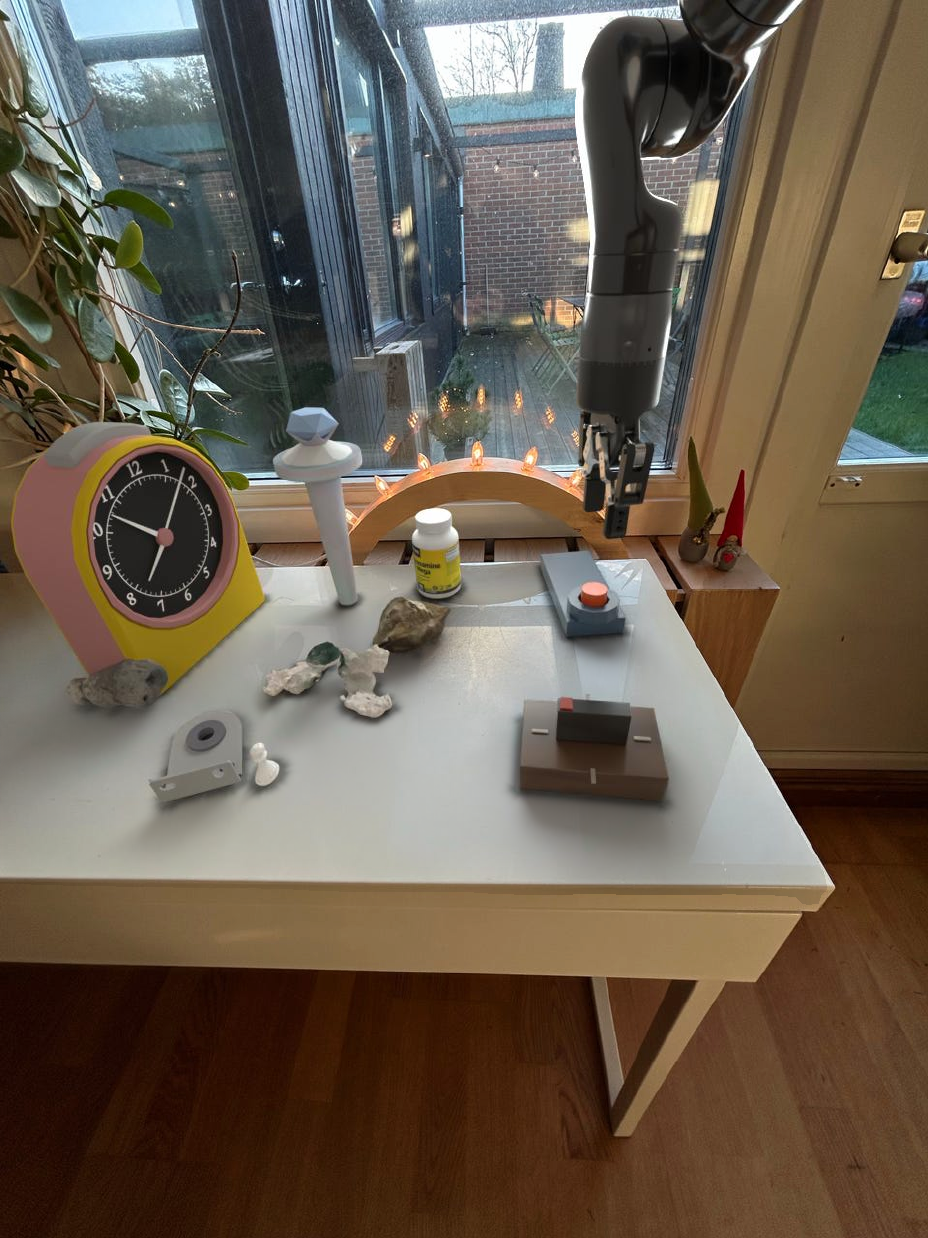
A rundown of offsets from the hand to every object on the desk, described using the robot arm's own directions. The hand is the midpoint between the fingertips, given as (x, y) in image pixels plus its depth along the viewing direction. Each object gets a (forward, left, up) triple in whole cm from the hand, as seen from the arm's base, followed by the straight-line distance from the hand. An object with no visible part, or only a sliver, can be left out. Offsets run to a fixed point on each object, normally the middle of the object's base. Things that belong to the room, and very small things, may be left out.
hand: (602, 522), depth 56 cm
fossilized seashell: (-5, +21, -14) cm, 26 cm away
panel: (-21, +1, -14) cm, 25 cm away
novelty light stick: (+3, +32, -14) cm, 35 cm away
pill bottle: (+7, +20, -14) cm, 26 cm away
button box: (+6, +1, -14) cm, 15 cm away
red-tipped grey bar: (-21, +1, -11) cm, 23 cm away
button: (0, 0, -10) cm, 10 cm away
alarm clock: (-7, +51, -14) cm, 53 cm away
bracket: (-25, +37, -14) cm, 47 cm away
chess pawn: (-26, +30, -14) cm, 42 cm away
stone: (-18, +50, -14) cm, 55 cm away
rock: (-14, +28, -14) cm, 35 cm away
